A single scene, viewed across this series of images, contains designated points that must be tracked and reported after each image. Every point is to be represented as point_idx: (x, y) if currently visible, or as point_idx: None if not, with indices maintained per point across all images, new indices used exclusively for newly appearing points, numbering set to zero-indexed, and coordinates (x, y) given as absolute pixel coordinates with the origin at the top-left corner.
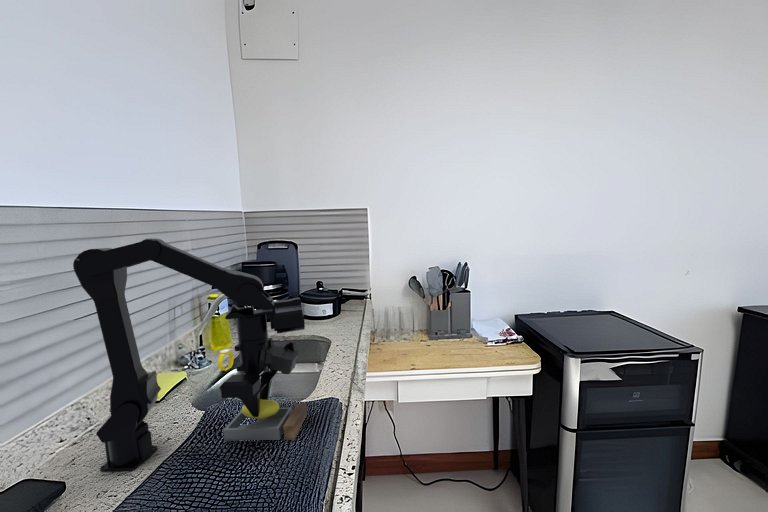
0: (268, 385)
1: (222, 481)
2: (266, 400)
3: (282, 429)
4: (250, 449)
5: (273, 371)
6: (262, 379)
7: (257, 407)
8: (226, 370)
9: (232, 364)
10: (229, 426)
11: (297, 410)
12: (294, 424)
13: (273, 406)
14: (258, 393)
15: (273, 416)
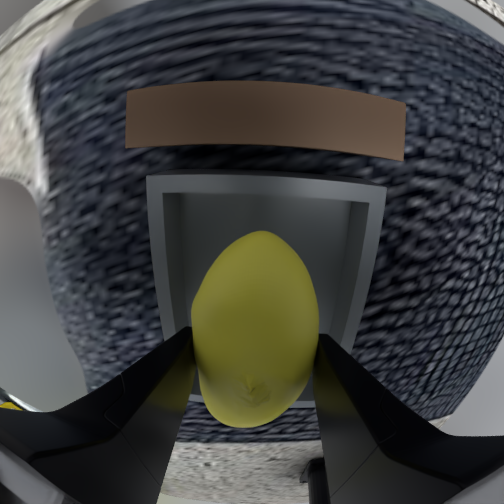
0: (138, 413)
1: (489, 293)
2: (247, 351)
3: (332, 177)
4: (393, 281)
5: (29, 470)
6: (130, 478)
7: (365, 369)
8: (20, 409)
9: (6, 403)
10: (308, 400)
11: (216, 112)
12: (385, 98)
13: (294, 275)
14: (427, 442)
15: (180, 267)
